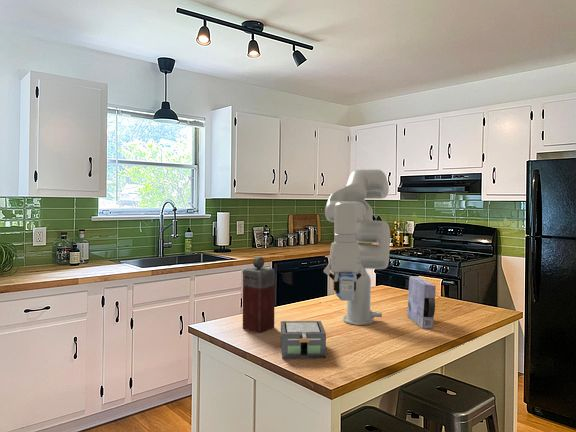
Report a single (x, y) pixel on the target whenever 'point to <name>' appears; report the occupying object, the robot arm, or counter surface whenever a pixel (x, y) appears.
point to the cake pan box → (421, 302)
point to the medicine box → (346, 286)
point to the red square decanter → (258, 297)
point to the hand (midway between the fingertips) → (344, 292)
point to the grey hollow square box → (303, 343)
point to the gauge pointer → (304, 340)
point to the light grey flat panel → (302, 328)
